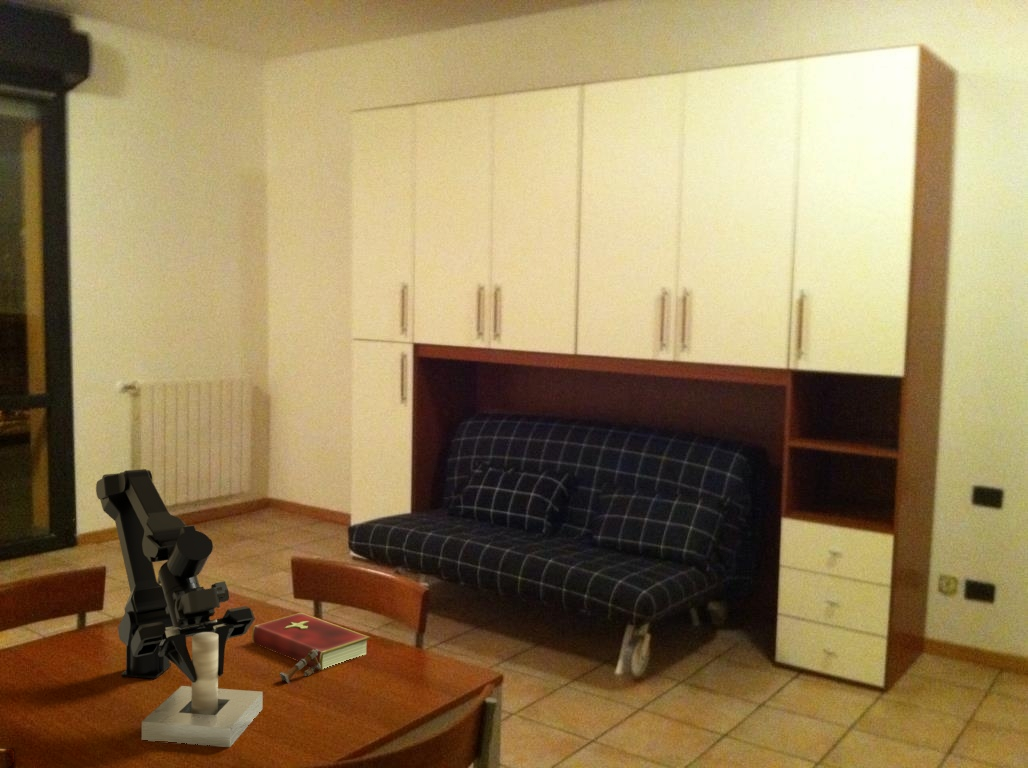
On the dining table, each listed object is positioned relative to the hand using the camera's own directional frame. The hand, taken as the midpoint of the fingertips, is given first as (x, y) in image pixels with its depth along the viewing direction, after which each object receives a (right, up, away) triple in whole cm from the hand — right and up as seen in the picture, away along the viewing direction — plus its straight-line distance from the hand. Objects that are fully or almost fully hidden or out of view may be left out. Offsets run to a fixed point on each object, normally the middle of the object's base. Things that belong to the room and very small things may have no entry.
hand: (208, 678), depth 151 cm
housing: (-1, -8, +2) cm, 8 cm away
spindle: (-1, -6, +2) cm, 7 cm away
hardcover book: (+8, -6, +37) cm, 38 cm away
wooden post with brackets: (+10, -7, +22) cm, 25 cm away
